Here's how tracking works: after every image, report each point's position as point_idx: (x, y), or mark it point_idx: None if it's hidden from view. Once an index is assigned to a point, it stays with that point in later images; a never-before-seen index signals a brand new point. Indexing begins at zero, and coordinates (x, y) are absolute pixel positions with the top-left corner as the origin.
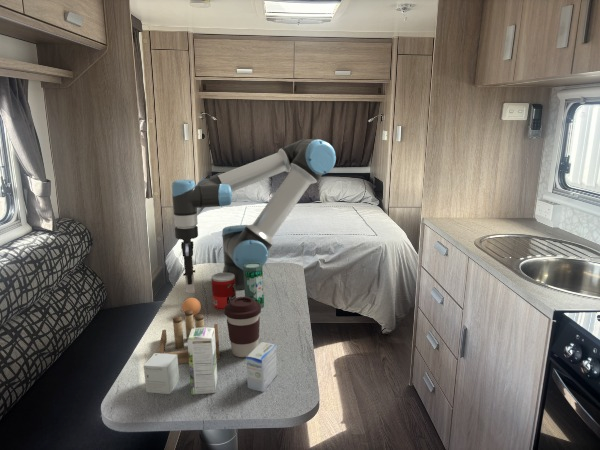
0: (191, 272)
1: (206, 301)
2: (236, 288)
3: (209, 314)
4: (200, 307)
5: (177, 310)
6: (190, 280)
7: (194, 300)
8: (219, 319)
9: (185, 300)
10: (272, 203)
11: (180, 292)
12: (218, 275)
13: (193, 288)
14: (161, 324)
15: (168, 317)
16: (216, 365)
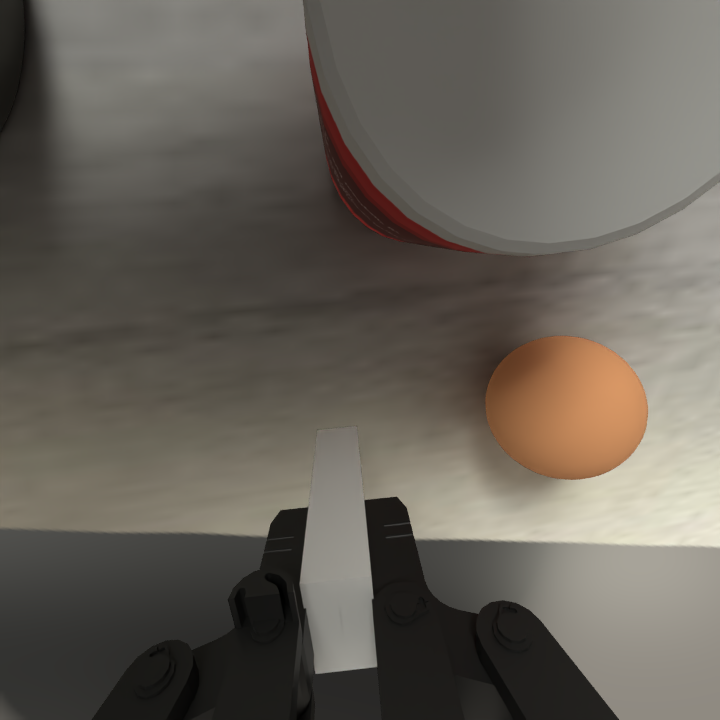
0: (572, 674)
1: (301, 307)
2: (12, 2)
3: (548, 264)
4: (580, 338)
5: (423, 474)
6: (412, 547)
7: (629, 404)
8: None
9: (591, 475)
10: None
11: (114, 503)
12: (436, 98)
13: (359, 453)
14: (589, 519)
15: (511, 503)
16: None
